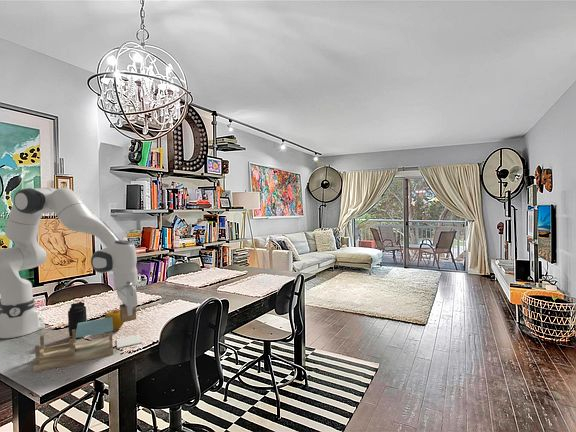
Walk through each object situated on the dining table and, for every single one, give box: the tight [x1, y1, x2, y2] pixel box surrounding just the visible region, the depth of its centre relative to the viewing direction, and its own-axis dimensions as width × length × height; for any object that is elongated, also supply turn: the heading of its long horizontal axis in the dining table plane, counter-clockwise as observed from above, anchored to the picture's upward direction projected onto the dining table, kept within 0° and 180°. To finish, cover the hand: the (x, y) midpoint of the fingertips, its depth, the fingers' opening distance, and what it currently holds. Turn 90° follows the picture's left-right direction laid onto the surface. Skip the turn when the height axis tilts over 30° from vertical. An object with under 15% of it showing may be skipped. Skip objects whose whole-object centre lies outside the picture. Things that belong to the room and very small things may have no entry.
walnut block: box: [119, 303, 137, 323], centre depth 132 cm, size 5×5×6 cm
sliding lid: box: [76, 317, 114, 339], centre depth 125 cm, size 11×12×2 cm
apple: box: [104, 309, 125, 331], centre depth 146 cm, size 9×9×9 cm
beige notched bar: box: [33, 329, 114, 373], centre depth 122 cm, size 14×24×8 cm, turn 120°
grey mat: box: [116, 334, 143, 350], centre depth 133 cm, size 9×9×1 cm
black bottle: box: [67, 301, 88, 339], centre depth 140 cm, size 7×7×15 cm
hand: (128, 313), depth 132 cm, fingers closed on walnut block, 5 cm apart
